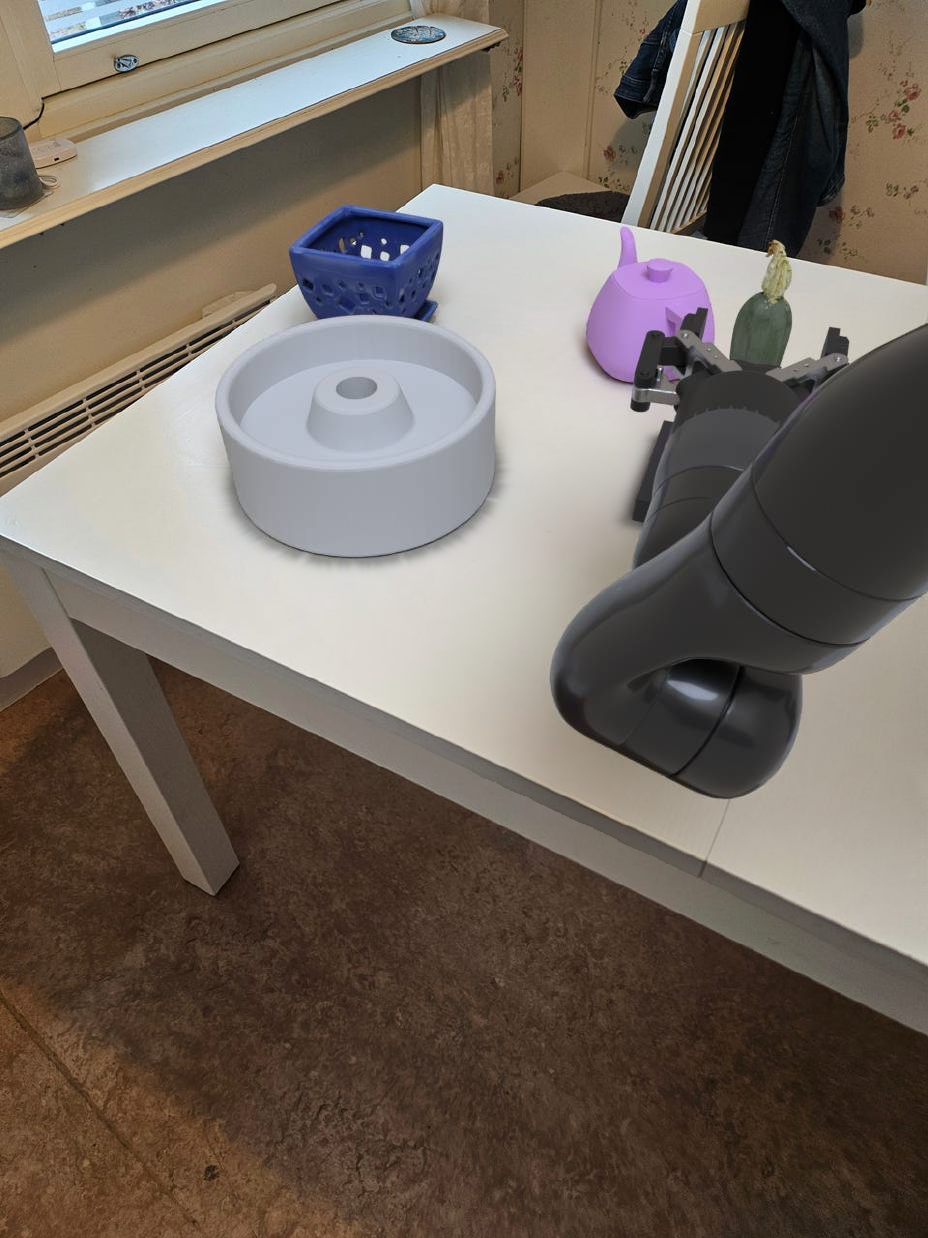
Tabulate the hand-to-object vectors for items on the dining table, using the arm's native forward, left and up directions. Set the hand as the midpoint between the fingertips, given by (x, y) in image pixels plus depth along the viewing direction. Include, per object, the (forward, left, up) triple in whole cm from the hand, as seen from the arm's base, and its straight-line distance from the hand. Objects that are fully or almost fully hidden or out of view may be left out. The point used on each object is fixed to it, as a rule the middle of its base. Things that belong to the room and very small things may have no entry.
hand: (764, 329), depth 59 cm
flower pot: (+43, -28, -23) cm, 56 cm away
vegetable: (0, -11, -19) cm, 22 cm away
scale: (0, -11, -22) cm, 25 cm away
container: (+33, -3, -23) cm, 40 cm away
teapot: (+12, -33, -23) cm, 42 cm away
